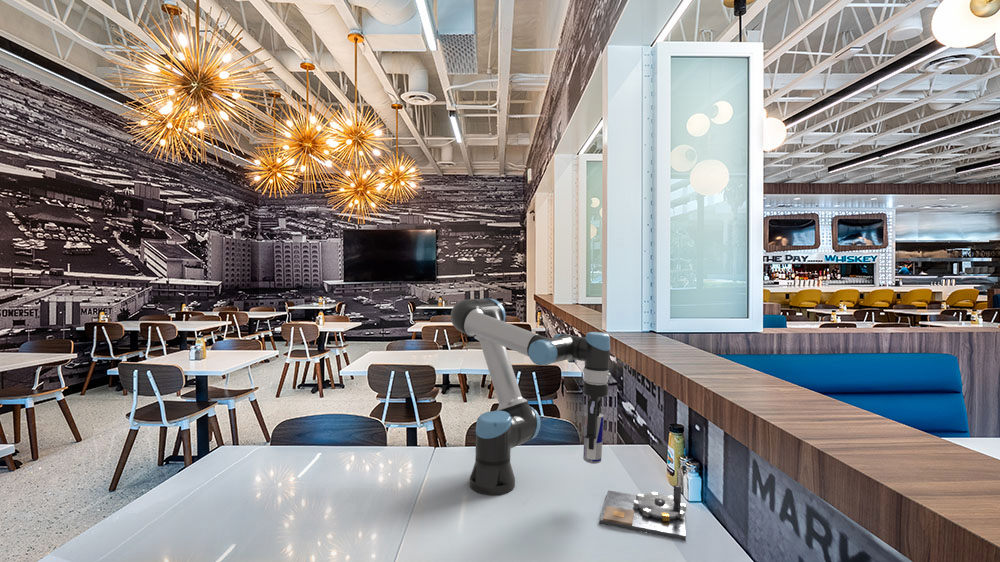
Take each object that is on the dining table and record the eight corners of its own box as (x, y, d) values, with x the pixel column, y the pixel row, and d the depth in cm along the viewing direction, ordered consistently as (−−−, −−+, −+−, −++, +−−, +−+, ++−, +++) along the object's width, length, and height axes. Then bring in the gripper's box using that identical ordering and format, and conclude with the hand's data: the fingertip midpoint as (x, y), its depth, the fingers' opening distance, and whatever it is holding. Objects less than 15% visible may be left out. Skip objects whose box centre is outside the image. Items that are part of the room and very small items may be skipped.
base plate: (599, 523, 139) (599, 519, 139) (607, 493, 158) (608, 490, 158) (685, 540, 131) (685, 536, 131) (683, 506, 150) (683, 503, 150)
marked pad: (603, 520, 138) (603, 517, 138) (606, 507, 146) (606, 505, 146) (632, 525, 136) (632, 523, 136) (634, 512, 143) (634, 510, 143)
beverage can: (601, 465, 150) (603, 417, 149) (582, 463, 151) (585, 415, 151) (601, 458, 155) (603, 412, 155) (583, 456, 157) (585, 410, 156)
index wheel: (668, 526, 135) (669, 496, 135) (623, 506, 147) (624, 478, 146) (696, 510, 145) (697, 482, 145) (651, 492, 156) (652, 465, 156)
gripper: (604, 390, 143) (600, 468, 143) (611, 377, 160) (608, 447, 161) (578, 387, 145) (575, 464, 146) (588, 374, 162) (585, 443, 163)
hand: (592, 455), depth 153 cm, fingers closed on beverage can, 5 cm apart
